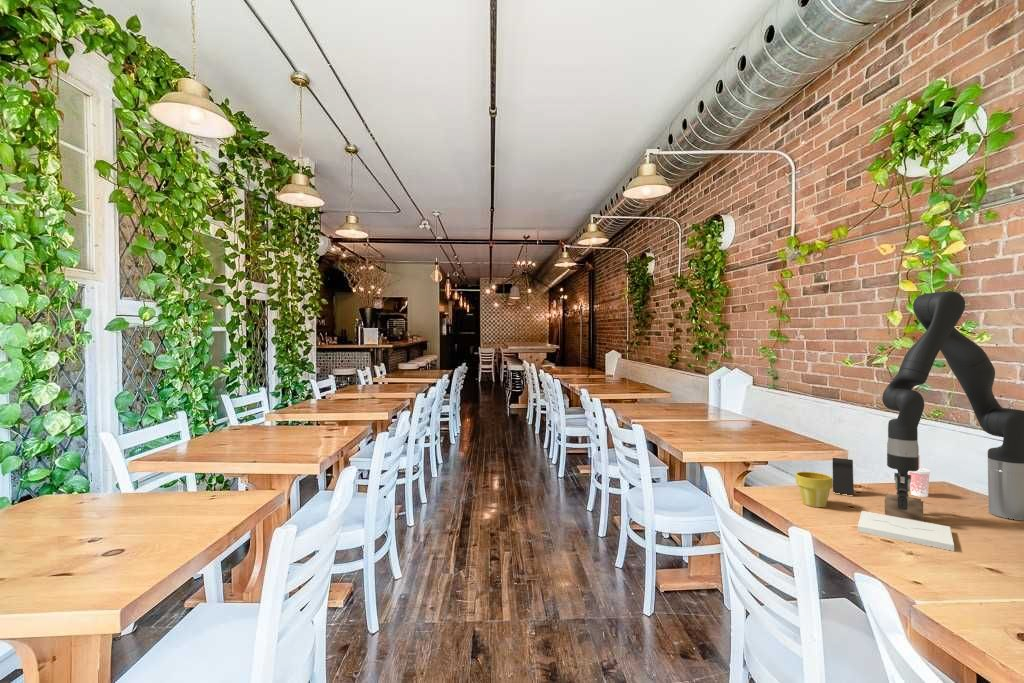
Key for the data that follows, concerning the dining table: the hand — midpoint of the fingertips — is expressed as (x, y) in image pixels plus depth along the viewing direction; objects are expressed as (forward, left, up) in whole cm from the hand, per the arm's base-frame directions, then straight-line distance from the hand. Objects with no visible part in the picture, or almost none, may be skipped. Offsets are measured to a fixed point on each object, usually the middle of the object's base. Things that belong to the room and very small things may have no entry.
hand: (902, 505), depth 143 cm
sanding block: (0, 0, -4) cm, 4 cm away
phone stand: (+17, -18, -4) cm, 25 cm away
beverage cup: (-4, -31, -4) cm, 32 cm away
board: (0, +15, -4) cm, 15 cm away
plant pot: (+23, +4, -4) cm, 23 cm away
